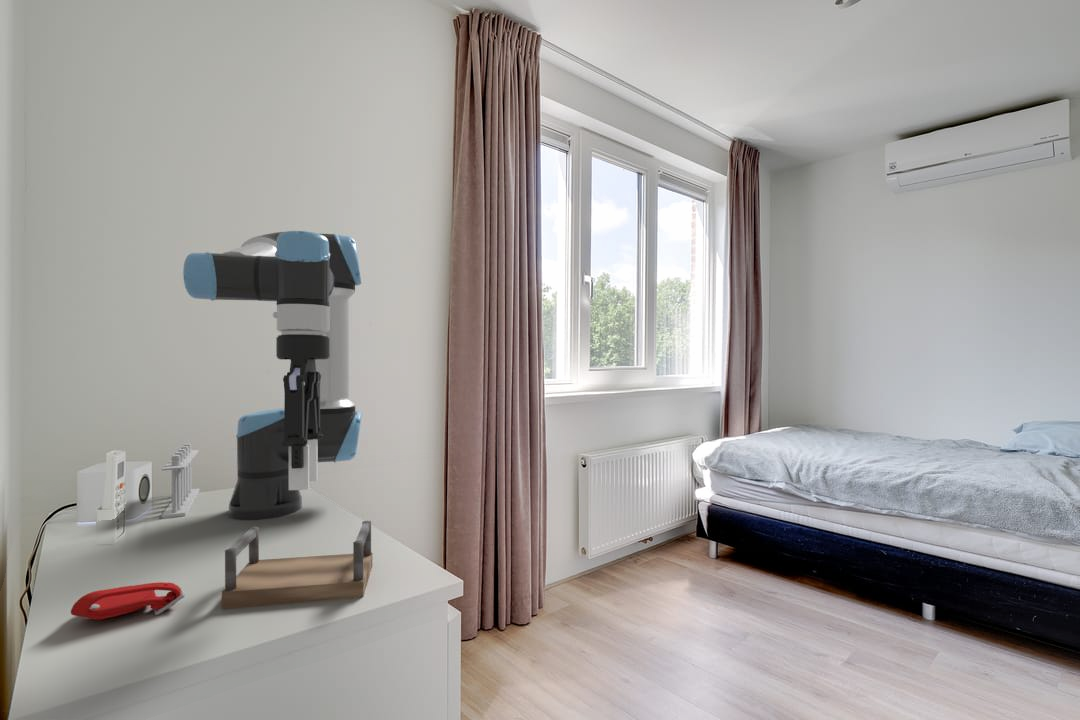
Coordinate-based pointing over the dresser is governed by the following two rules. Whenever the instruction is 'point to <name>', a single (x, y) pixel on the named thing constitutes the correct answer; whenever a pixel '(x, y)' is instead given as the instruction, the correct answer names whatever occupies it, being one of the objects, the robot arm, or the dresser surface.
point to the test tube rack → (181, 482)
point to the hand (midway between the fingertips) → (303, 484)
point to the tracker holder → (126, 600)
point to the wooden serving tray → (295, 574)
